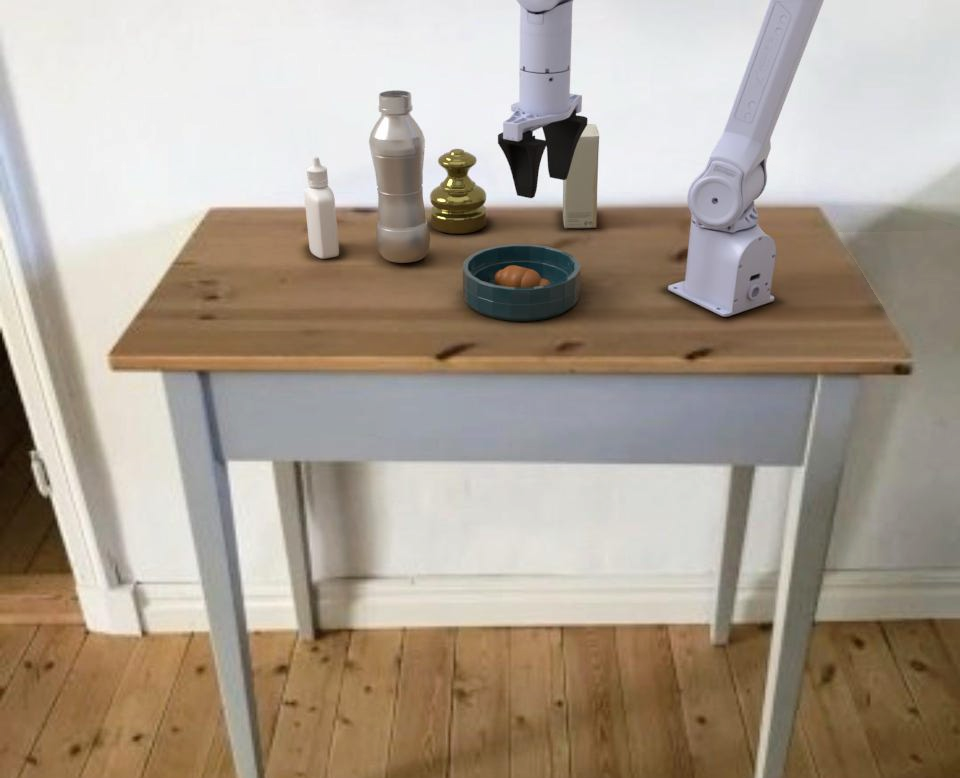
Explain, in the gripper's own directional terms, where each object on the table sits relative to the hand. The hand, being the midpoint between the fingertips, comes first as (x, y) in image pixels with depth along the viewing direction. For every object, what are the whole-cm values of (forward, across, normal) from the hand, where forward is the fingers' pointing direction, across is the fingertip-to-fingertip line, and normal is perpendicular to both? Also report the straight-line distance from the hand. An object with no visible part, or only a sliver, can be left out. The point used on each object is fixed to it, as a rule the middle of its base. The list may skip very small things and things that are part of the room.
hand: (542, 187), depth 127 cm
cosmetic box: (+10, -15, -3) cm, 18 cm away
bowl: (+9, +11, +4) cm, 15 cm away
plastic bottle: (+10, +8, -15) cm, 20 cm away
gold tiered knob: (+10, -5, -16) cm, 19 cm away
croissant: (+9, +11, +4) cm, 14 cm away
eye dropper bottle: (+10, +12, -25) cm, 29 cm away
